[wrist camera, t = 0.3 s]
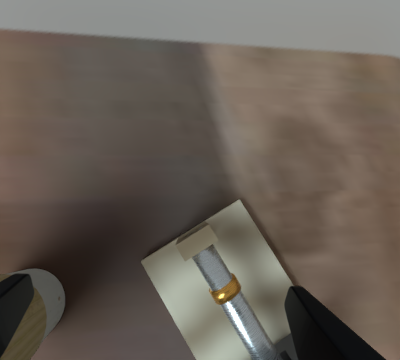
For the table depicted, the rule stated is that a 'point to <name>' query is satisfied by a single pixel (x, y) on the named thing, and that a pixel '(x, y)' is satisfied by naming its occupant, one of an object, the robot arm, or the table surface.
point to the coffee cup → (36, 315)
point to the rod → (235, 304)
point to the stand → (199, 290)
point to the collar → (286, 348)
